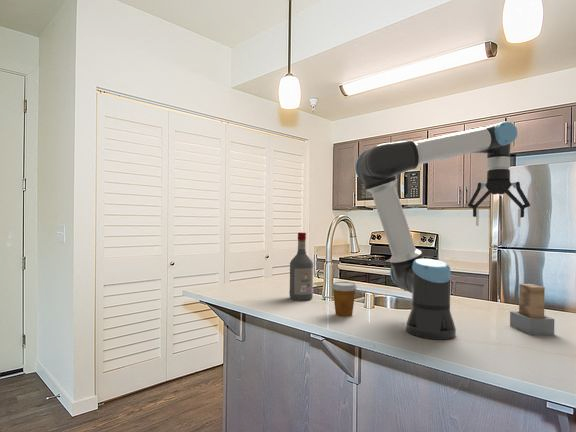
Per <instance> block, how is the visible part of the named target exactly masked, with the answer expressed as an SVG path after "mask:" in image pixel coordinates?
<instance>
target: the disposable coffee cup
mask: <svg viewBox="0 0 576 432" xmlns="http://www.w3.org/2000/svg"><path fill="white" fill-rule="evenodd" d="M357 288H358V287H357V285H356V283H355V282H351V281H335V282H333V283H332V285H331V289H332V294H333V301H334V311H335V315H336V316H338V317H343V318H344V317H345V318H349V317H352V316H353V313H354V312H353V311H354V304H355V299H356V298H355V296H356V291H357Z"/></svg>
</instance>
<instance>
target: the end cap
mask: <svg viewBox="0 0 576 432" xmlns="http://www.w3.org/2000/svg"><path fill="white" fill-rule="evenodd" d="M509 327H512V328H515V329H517V330H519V331H521V332H523V333H525V334H527V335H531V336H532V335H555V318H552V317H550V316H547V315H545V314H544V318H529V317H526V316H524V315H521V314H519V310H518V311H517V310H514V311H513V310H511V311H509Z"/></svg>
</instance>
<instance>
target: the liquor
mask: <svg viewBox="0 0 576 432" xmlns="http://www.w3.org/2000/svg"><path fill="white" fill-rule="evenodd" d="M306 235H307V233H306V232H297V252H296V253H297V254H296V255H295V256H294V257H293V258H292V259H291V261H290V262H289V297H290V299H291V300H293V301H297V302H303V301H311V300H313V297H314V295H313V294H314V290H313V289H314V263H313V261H312V259H311V258H310V257H309V256H308V254H307V251H306V240H307V236H306Z"/></svg>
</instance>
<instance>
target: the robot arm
mask: <svg viewBox="0 0 576 432" xmlns="http://www.w3.org/2000/svg"><path fill="white" fill-rule="evenodd" d="M517 136H518V129H517V126H516V125H515V124H514V123H513V122H511V121H505V120H504V121H502V122H501V121H500V122H498V123H495V124H492V125H486V126H483V127H478V128H473V129H469V130H464V131H460V132H459V131H458V132H455V133H450V134H446V135H441V136H436V137H431V138H427V139H423V140H422V139H421V140H417V141H414V140H412V139H408V140H403V141H395V142H387V143H381V144H378V145H376V146H373V147H371V148H368V149H367V150H364V151H363V152H362V153H361V154H360V155H359V156H358V157H357V159H356V161H355V165H354V170H355V174H356V176H357V178H358V179H359V180H361V181H362V183H363V186H364V188H365V189H364V190H365V191H367V192H369V194H371V195H372V199H373V201H374V204H375V208H376V210H377V214H378V217H379V219H380V220H379V221H380V223H381V225H382V229H383V231H384V235H385V238H386V241H387V243H388V246H389V250H390V253H391V257H389V262H390V265H391V267H390V269H389V270H390V271H389V272H390V273H389V274H390V277H391V280H392V282H393V283H394V284H395V286H397V287H398V288H400V289H401V290H403V291H406V292H408V293H411V295H412V299H411V300H412V302H411V305H412V306H411V310H410V313H409V315H408V318H407V321H406V323H405V324H406V329H405V330H406V331H407V332H408V333H409V334H411V335H413V336H415V337H418V338H419V337H420V338H423V339H430V340H449V339H454V338H455V337H456V335H457V331H456V330H457V328H456V325H455V322H454V318H453V315H452V313H451V279H452V273H451V267H450V265H449V264H448V263H447V262H445V261H441V260H438V259H432V258H424V255H423V253H422V250H419V249H418V248H416V246H415V243H414V239H413V236H412V232H411V231H410V228H409V224H408V222H407V218H406V215H405V212H404V209H403V206H402V203H401V201H400V198H399V194H398V191H397V188H396V184H397V182H398V176H397V175H399V174H401V173H405V172H407V171H412V170H415V169H418V167H419V166H420V165H423V164H424V165H425V164H428V163H433V162H437V161H441V160H442V161H443V160H446V159H450V158H454V157H458V156H463V155H467V154H486V157H487V158H486V169H487V172H486V182H485V183H483V182H477V186H476V187H477V188H476V190H475V192H474V193H473V195H472V197H471V199H470V200H469V202H468V204H467V206H468V207H469V208H471V209H472V216H473V218H475V219H476V221H475V222H476V223H475V224H476V225H475V226H477V227H478V226H479V217H480V216H479V213H480V212H479V211H480V210H479V208H478V206H480V205H481V204H482V203H483V202H484V200H486V199H487V198H488V196H490V194H491V195H504V194H505V195H507V196H508V197H509V198H510V199H511V200H512V201H513V203H515V205H516V206H518V208H517V214H516V215H517V218H516V219H517V220H516V221H517V222H516V223H517V224H516V225H517V227H521V218H524V217H525V209H526V208H529V207H530V206H531V204H530V202H529V201H528V198H527V197H526V195H525V193H524V191H523V190H522V188H521V182H520V181H516V182H511V170H510V168H511V144H512V143H514V141H515V140H516V139H517V138H518V137H517ZM484 187H485V188H486V189H487V191H486V192H485V193H484V194H483V195H482V197H481V198H479V199H478V200H477V201H476V203H475V200H476V198H477V197H478V196H479V193H480V192H481V190H482V189H483V188H484ZM511 187H513V189H516V192H517V194H518V195H519V197H520V199H521V200H522V202H523V203H524V204H523V203H522V202H521V201H520V200H519V199H518V198H517V197H516V196H515V195H514V194H513V193H512V192H511V191H510V188H511ZM474 203H475V204H474Z"/></svg>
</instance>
